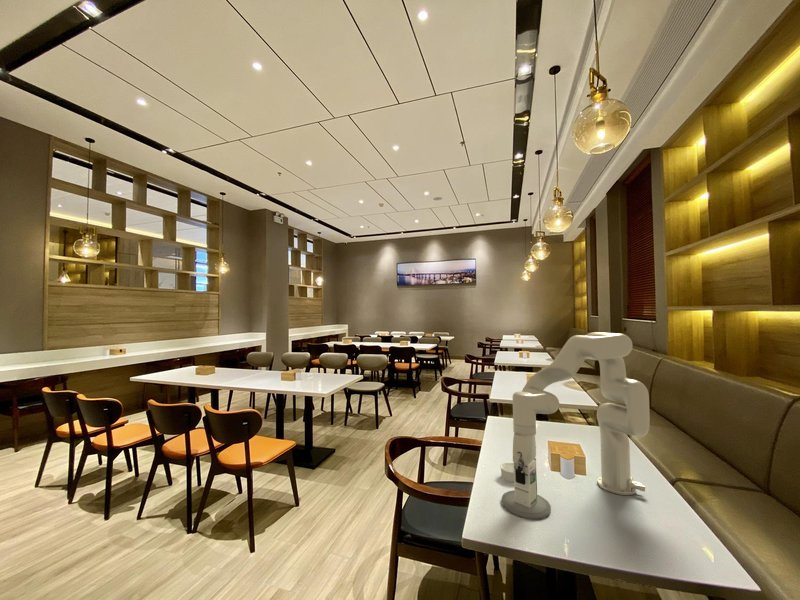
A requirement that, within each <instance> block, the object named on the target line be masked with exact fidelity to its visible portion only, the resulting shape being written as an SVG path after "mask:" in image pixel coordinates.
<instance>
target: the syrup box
mask: <svg viewBox="0 0 800 600" xmlns="http://www.w3.org/2000/svg"><path fill="white" fill-rule="evenodd" d="M519 462H523V461H519ZM519 466H520V467H521V468H522V465H520V464H519ZM524 472H525V485H523V484H520V483H517V482H516V478H515V468H514V482H513V484H514V492H515V502H517V503H519V504H521V505H524V506H526V507H528V508H531V507H532V506H533V505H534V504H535V503H536V502H537V495H538V483H537V476H538V475H537V459H536V460H535V459H533V460H532V461H531V462H530V463H529V464H528V465H525V469H524Z"/></svg>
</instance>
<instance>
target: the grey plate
mask: <svg viewBox="0 0 800 600" xmlns="http://www.w3.org/2000/svg"><path fill="white" fill-rule="evenodd" d="M501 505H502V507H503V508H504V510H506V511H507V512H508V513H510V514H512V515H513V516H515V517H519V518H521V519H526V520H534V521H535V520H536V521H539V520H544V519H546V518H548V517H549V516H550V515H551V514H552V508H551V507H552V506H551V504H550V502H549V501H548V500H547V499H545V498H544V496H541V495H539V494H537V502H536V503H535V504H534V505H533V506H532V507H531V508H528V507H526V506H524V505H521V504H519V503H517V502H515V492H514V490H510V491H509V490H508V491H507V492H505V493H503V494H502V495H501Z"/></svg>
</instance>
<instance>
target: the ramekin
mask: <svg viewBox="0 0 800 600" xmlns="http://www.w3.org/2000/svg"><path fill="white" fill-rule="evenodd" d="M499 467H500V474H501V477H502V479H503V480H504V481H506V482H510V483H514V462H503V463H501V464H500V466H499Z"/></svg>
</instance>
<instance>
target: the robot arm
mask: <svg viewBox="0 0 800 600" xmlns="http://www.w3.org/2000/svg"><path fill="white" fill-rule="evenodd" d="M633 345H634V344H633V341H632V339H631V338H630V337H629V336H628V335H627V334H624V333H619V332H618V333H615V332H600V331H595V332H589V333H587V334H585V335H582V334H581V335H580V334H579V335H578V334H576V335H573V336H571V337H569V339H567V341H566V342H565V344H564V345H563V346H562V348H561V350H560V351H559V353H558V354H557V355H556V357H555V358H554V359H553V361H552V362H551V363H550V364H548V365H547V366H545V367H543V368H541V370H538V371H537V372H536V373H534V374H533V375H532V376H531V377H530V378H529V379H528V380H527V382H526V383H525V385H524V387H523V389H522V390H521V391H516V392H513V394H512V423H513V425H512V426H513V427H512V428H513V440H512V463H514V468H515V478H516V482H517V483H520V484H523V485H525V472H524V469H525V465H528V464H529V463H530V462H531V461H532V460H533V459H535V460H536V461H537V458H536V456H537V441H536V435H537V422H536V421H537V417H536V416H537V414H542V415H551V414H554V413H556V412H557V411H558V409H559V407H560V400H559V398H558V396H556V395H555V394H553V393H551V392H549V391H545V389H546V388H548V386H551V385H552V384H555V383H558V382H559V383H560V382H563V381H568V380H571V379H573V378H575V376H576V374H577V373H578V371H579V370H580V368H581V366H582V365H583V364H584V362H585V361H586V360H593V361H598V363H599V371H600V372H599V373H600V374H599V375H600V377H599V378H600V381H599V382H600V393H601V395H602V396H603V397H604V398H605V399H607V400H610V401H614V402H616V403H613V402H604V403H602V404H600V405H598V407H597V410H596V419H597V423H598V427H599V434H600V470H601V471H600V472H601V476H599V477H598V478H597V479H596V483H597V485H598V486H599V487H600V488H602V490H605V491H607V492H609V493H613V494H616V495H620V496H632V495H633V496H634V495H635V494H636V493H637V490H638V491H640V492H644V493H645V492H646V486H645V485H643V483H642V482H639V481H635V480H634V479H633V478H634V477H633V476H631V475H632V474H631V452H630V451H631V444H630V439H629V437H628V435H629V436H632V437H635V438H642V437H645V436H646V435H647V434H648V432H649V431H650V425H651V424H650V422H651V421H650V420H651V419H650V418H651V417H650V412H651V411H650V393H649V390H648V388H647V387H646V385H645V384H644V383H643V382H641V381H639V380H636V379H632V378H628V376H627V370H626V363H625V360H624V357H626V356H628V355H629V354H630V353H631V352H632V350H633ZM617 403H621V405H620V404H617ZM622 404H624V405H625V406H624V405H622ZM519 461H523V462H519ZM519 464H520V465H522V468H521V467H520V466H519Z"/></svg>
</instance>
